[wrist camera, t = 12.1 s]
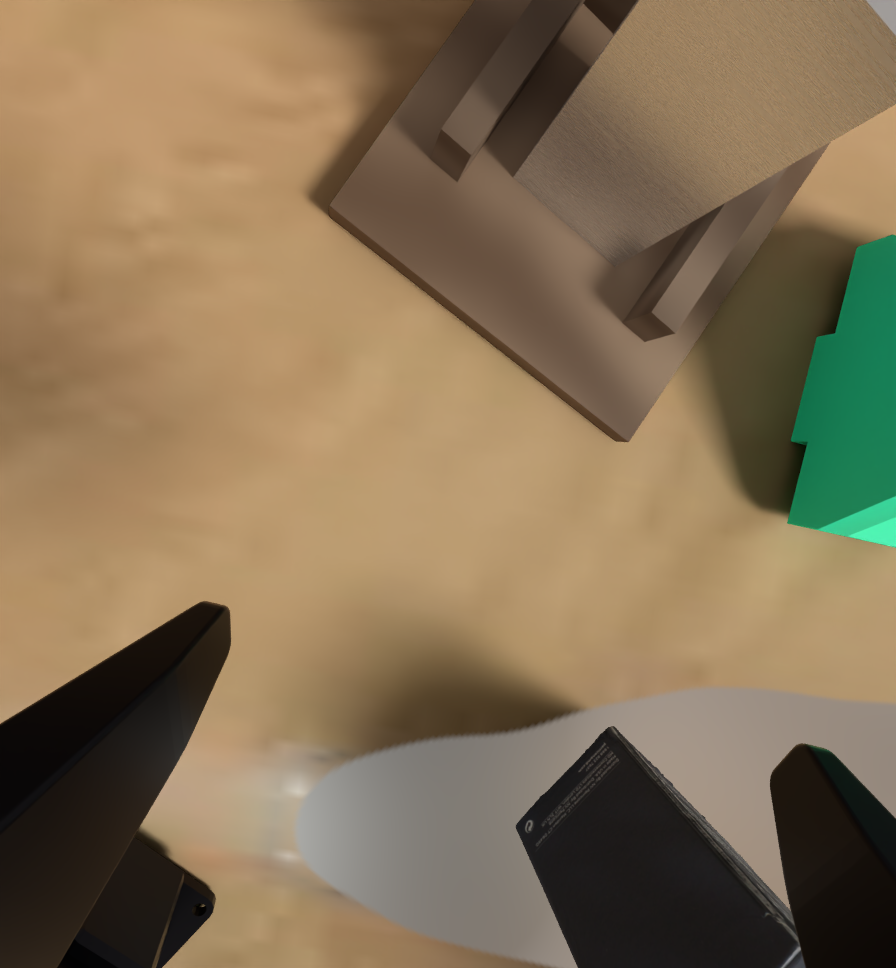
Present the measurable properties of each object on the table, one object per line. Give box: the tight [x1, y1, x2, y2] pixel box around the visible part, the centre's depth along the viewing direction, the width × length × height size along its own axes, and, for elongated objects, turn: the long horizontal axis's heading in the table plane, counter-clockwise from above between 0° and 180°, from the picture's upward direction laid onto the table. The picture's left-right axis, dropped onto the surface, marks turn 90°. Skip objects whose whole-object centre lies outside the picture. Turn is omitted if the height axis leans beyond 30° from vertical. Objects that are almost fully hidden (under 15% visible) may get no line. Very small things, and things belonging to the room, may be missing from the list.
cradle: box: [329, 0, 830, 442], centre depth 20 cm, size 15×14×3 cm
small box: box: [516, 726, 805, 968], centre depth 20 cm, size 11×6×10 cm, turn 44°
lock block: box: [513, 0, 896, 267], centre depth 15 cm, size 5×5×12 cm
